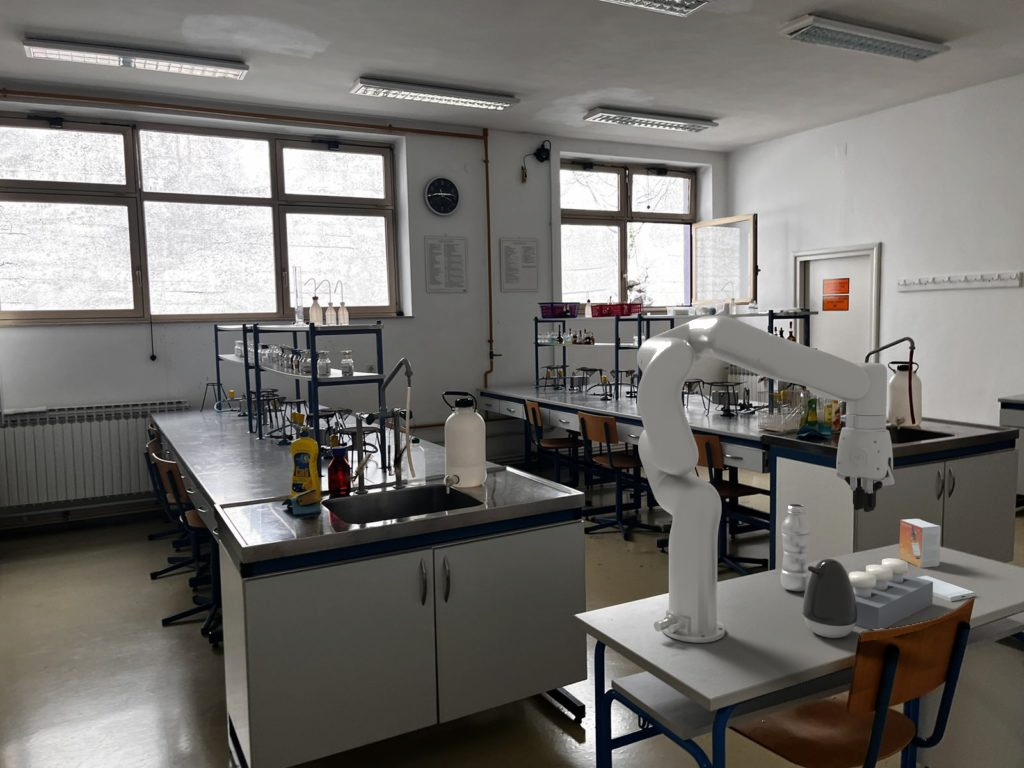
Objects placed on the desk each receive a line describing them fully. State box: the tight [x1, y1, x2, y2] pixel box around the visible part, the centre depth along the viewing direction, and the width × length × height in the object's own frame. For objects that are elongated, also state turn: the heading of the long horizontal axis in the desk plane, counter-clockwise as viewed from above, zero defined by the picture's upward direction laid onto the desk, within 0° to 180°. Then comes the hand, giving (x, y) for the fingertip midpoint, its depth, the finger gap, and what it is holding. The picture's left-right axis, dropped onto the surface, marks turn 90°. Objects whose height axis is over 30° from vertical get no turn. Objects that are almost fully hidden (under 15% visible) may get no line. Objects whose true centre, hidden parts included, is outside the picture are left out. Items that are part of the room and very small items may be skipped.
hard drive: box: [915, 575, 977, 602], centre depth 175 cm, size 2×8×12 cm
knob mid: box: [865, 564, 893, 592], centre depth 163 cm, size 5×5×6 cm
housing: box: [852, 573, 934, 630], centre depth 164 cm, size 24×12×5 cm, turn 128°
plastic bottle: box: [779, 503, 812, 592], centre depth 175 cm, size 6×7×20 cm
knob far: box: [881, 557, 909, 584], centre depth 168 cm, size 5×5×6 cm
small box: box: [898, 518, 942, 569], centre depth 194 cm, size 8×6×10 cm
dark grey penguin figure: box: [801, 558, 857, 639], centre depth 151 cm, size 10×10×15 cm
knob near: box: [848, 570, 876, 599], centre depth 159 cm, size 5×5×6 cm
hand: (864, 509), depth 158 cm, fingers closed
